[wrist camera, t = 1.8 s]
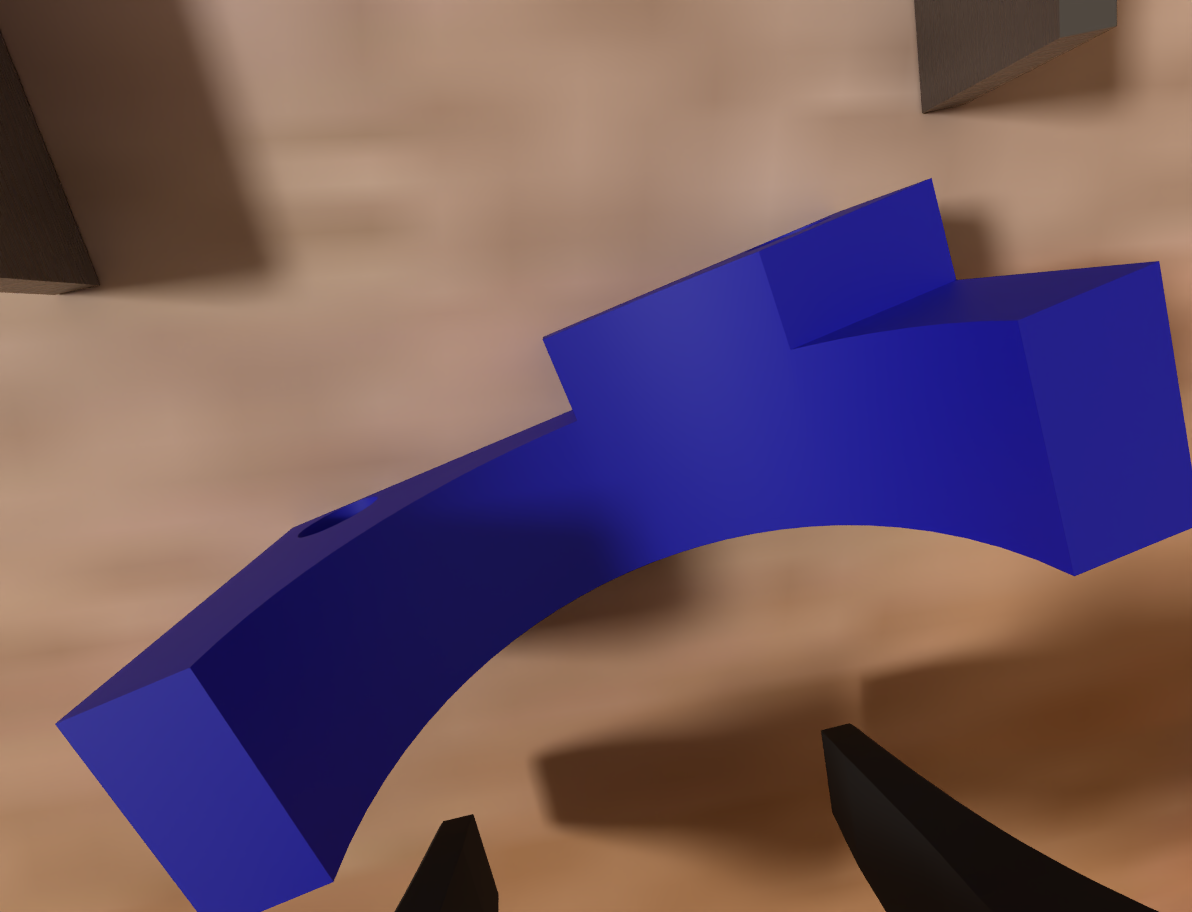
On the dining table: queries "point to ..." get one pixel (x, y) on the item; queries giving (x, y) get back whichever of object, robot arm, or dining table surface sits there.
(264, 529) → the dining table surface
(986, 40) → the rack
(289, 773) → the blue arched block
